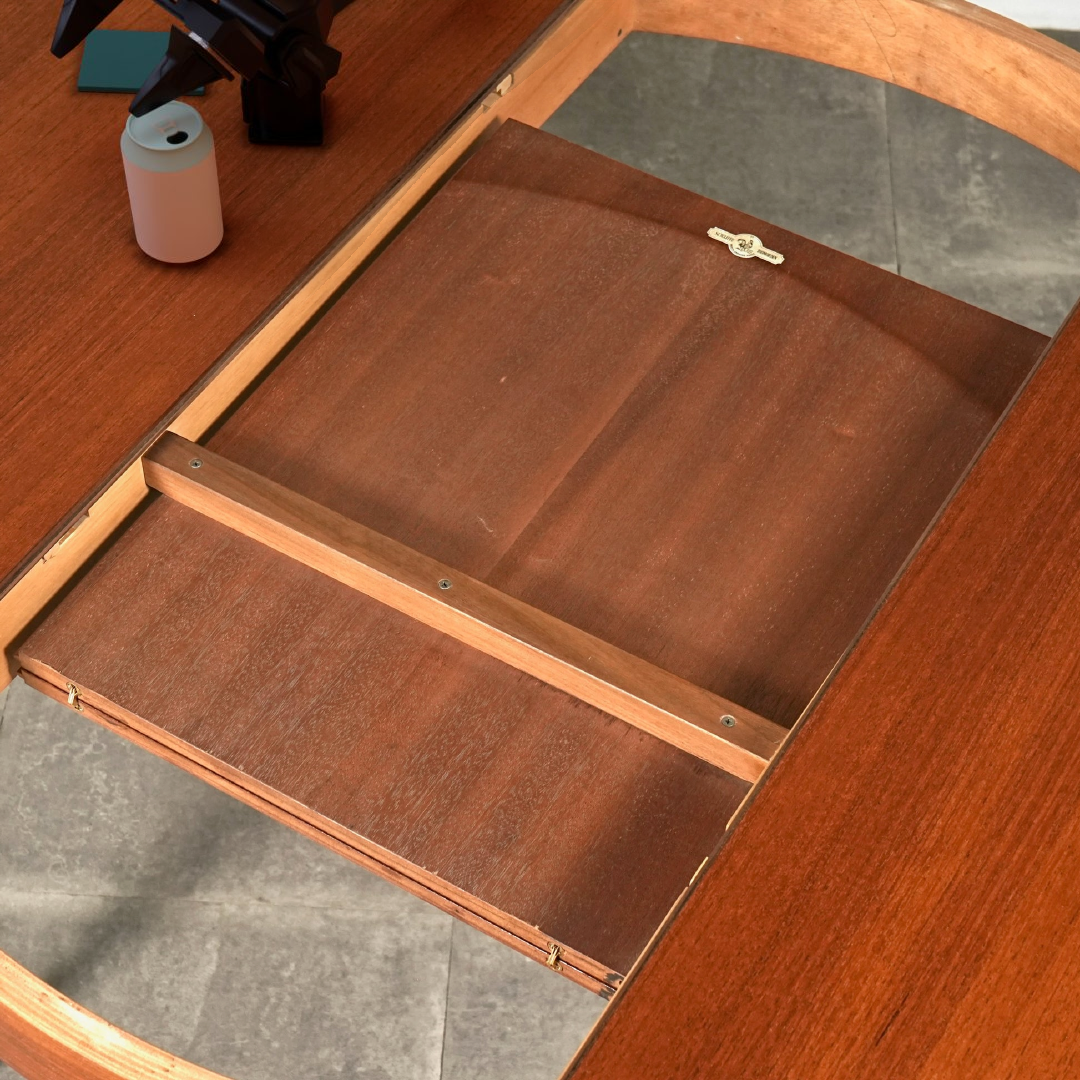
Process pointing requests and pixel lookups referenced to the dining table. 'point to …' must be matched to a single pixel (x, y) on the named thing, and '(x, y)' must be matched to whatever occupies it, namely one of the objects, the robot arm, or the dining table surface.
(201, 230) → the can
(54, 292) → the dining table surface
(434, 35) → the dining table surface
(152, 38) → the teal mat
